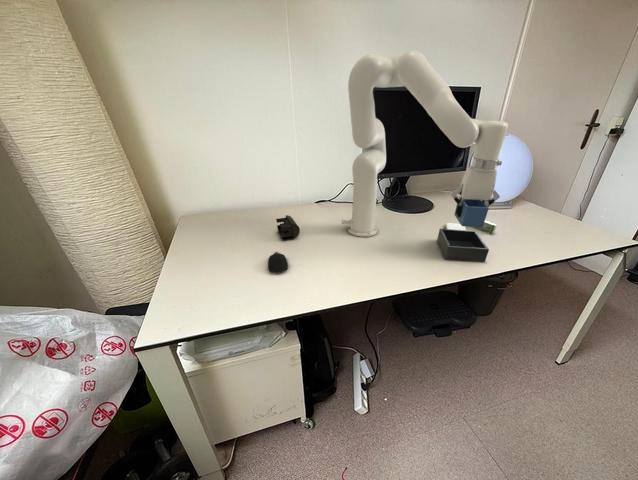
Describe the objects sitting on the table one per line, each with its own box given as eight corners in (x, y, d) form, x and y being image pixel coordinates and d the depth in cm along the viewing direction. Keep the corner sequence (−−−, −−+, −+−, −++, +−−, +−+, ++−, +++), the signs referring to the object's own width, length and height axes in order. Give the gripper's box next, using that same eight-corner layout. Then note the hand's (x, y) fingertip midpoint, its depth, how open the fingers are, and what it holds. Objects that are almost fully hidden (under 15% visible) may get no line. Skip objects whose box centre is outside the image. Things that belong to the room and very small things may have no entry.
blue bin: (461, 226, 95) (467, 206, 91) (454, 214, 104) (458, 196, 100) (482, 227, 94) (488, 207, 91) (473, 215, 104) (478, 197, 100)
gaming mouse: (285, 251, 101) (284, 242, 99) (289, 273, 89) (288, 263, 87) (267, 253, 99) (265, 243, 97) (269, 276, 88) (267, 265, 85)
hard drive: (463, 227, 125) (468, 239, 115) (445, 225, 126) (447, 237, 116) (464, 224, 124) (469, 235, 114) (445, 222, 125) (448, 233, 115)
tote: (445, 259, 100) (448, 246, 97) (437, 240, 113) (439, 228, 110) (484, 262, 99) (489, 249, 96) (471, 242, 112) (475, 230, 109)
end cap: (300, 238, 110) (299, 223, 106) (283, 241, 108) (281, 225, 104) (294, 229, 118) (292, 214, 114) (277, 231, 115) (275, 216, 111)
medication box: (494, 233, 121) (498, 224, 119) (491, 234, 119) (495, 225, 117) (469, 223, 128) (472, 215, 126) (466, 224, 127) (469, 216, 125)
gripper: (506, 163, 91) (490, 214, 101) (453, 160, 92) (442, 211, 102) (516, 168, 85) (497, 221, 95) (459, 165, 86) (446, 219, 96)
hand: (469, 216), depth 98 cm, fingers closed on blue bin, 7 cm apart
